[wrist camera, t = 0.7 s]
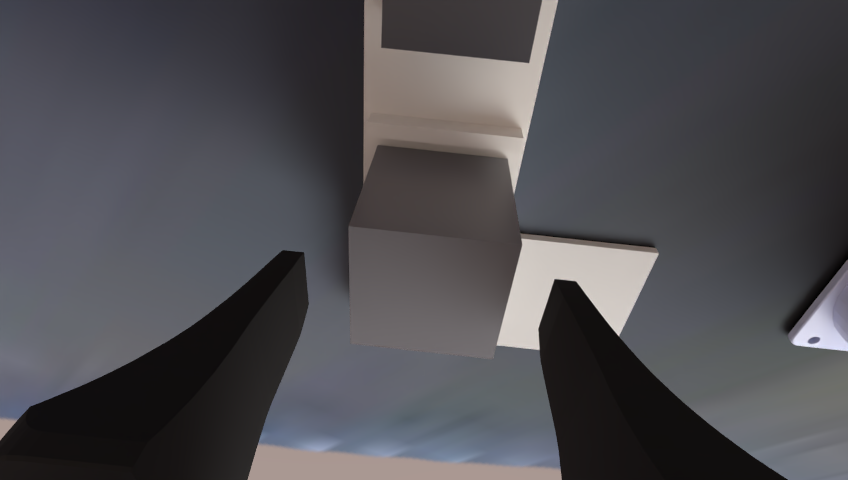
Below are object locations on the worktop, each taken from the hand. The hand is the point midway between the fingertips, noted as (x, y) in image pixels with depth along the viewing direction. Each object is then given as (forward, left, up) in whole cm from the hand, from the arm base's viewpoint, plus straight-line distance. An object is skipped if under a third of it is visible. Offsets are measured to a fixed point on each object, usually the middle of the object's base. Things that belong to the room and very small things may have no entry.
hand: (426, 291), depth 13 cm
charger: (0, 0, -5) cm, 5 cm away
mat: (-7, +6, -7) cm, 11 cm away
